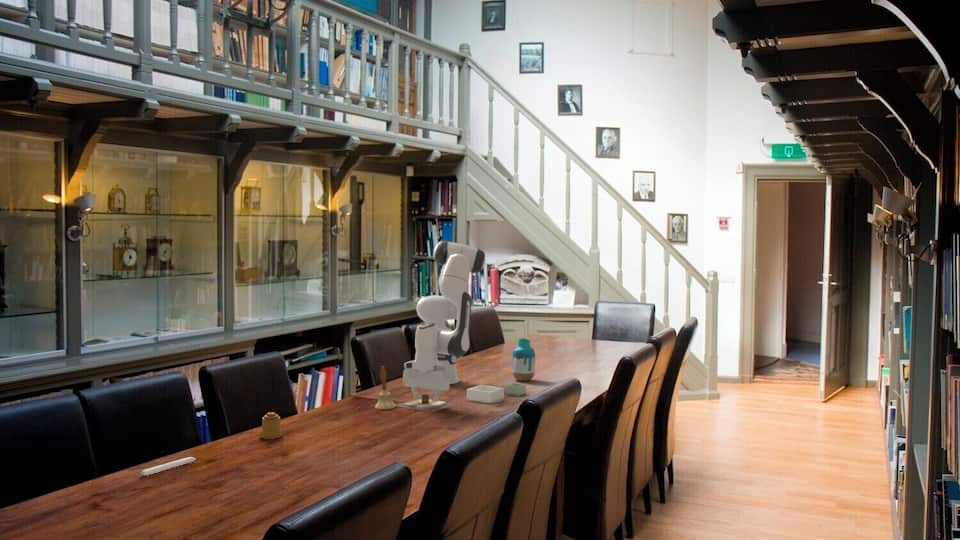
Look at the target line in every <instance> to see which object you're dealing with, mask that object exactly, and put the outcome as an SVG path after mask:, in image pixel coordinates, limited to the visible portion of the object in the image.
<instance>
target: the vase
mask: <svg viewBox="0 0 960 540" xmlns="http://www.w3.org/2000/svg"><path fill="white" fill-rule="evenodd" d="M511 354H512V355H511V356H512V357H511V371H512V372H511V373H512V376H513V378H514V379H515V380H517V381H520V382H528V381H531V380H532V379H533V378H534V377H535V372H536V371H535V370H536V352H535V349H534V348H533V347H531V339H529V338H518V339H517V345H516V347H514V348H513V350H512V353H511Z"/></svg>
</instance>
